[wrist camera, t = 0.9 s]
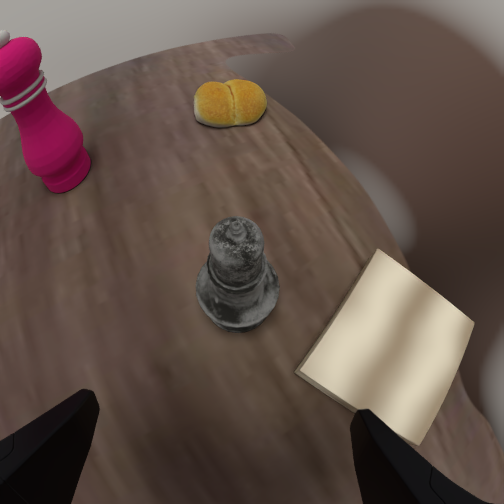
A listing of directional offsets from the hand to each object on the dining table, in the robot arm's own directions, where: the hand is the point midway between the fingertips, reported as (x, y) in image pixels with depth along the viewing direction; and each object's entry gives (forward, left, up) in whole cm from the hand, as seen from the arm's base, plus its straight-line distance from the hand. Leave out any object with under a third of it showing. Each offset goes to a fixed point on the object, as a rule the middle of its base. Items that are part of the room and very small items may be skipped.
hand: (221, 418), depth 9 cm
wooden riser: (-8, -11, -14) cm, 19 cm away
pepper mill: (+30, -6, -14) cm, 33 cm away
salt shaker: (+5, -7, -14) cm, 16 cm away
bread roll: (+21, -25, -14) cm, 35 cm away
